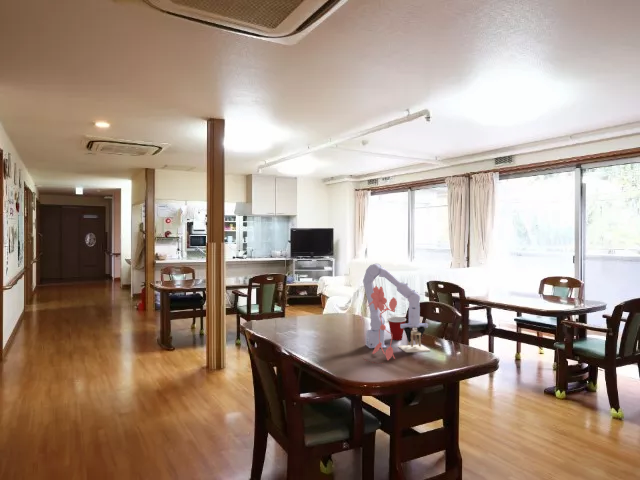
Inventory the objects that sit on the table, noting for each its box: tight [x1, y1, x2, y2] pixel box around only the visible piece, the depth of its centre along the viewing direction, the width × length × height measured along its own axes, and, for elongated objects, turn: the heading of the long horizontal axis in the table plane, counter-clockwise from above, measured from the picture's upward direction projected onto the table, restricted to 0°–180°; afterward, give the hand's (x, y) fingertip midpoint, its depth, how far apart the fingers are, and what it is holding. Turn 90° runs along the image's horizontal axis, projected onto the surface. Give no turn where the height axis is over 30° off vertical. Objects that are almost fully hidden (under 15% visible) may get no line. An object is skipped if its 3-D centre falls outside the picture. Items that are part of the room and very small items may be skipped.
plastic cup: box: [386, 316, 407, 341], centre depth 251 cm, size 11×11×12 cm
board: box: [398, 344, 431, 353], centre depth 229 cm, size 13×11×1 cm
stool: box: [407, 330, 422, 347], centre depth 228 cm, size 5×5×7 cm
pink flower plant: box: [362, 285, 398, 365], centre depth 211 cm, size 15×26×35 cm, turn 24°
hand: (414, 341), depth 229 cm, fingers closed on stool, 5 cm apart
